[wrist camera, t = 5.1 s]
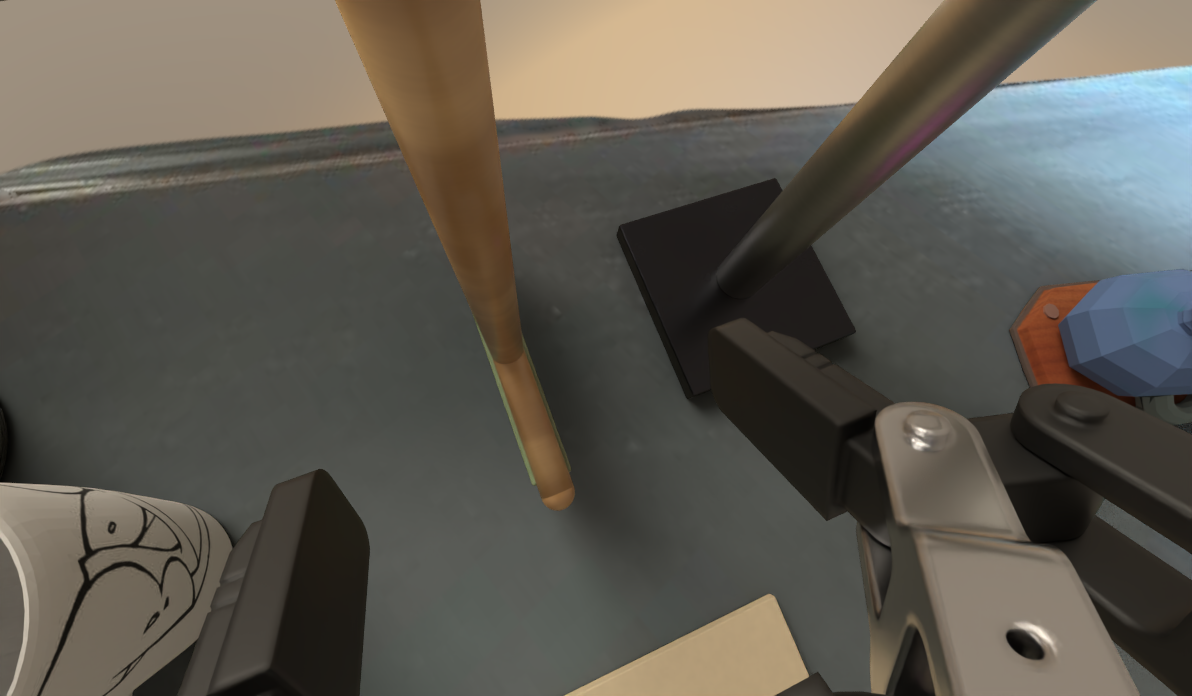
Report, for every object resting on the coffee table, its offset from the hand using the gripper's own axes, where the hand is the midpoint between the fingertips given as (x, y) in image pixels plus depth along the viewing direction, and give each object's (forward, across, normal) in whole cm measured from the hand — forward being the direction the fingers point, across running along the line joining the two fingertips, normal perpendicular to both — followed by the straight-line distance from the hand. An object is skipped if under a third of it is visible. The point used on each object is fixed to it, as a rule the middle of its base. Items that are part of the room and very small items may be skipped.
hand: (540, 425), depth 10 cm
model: (+6, -33, +15) cm, 37 cm away
